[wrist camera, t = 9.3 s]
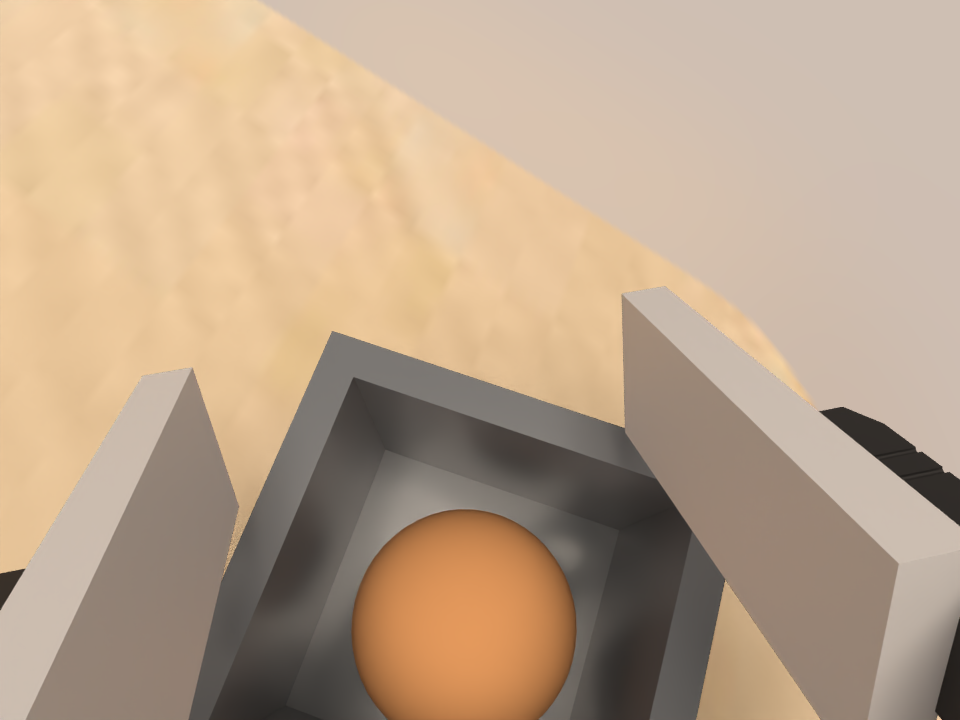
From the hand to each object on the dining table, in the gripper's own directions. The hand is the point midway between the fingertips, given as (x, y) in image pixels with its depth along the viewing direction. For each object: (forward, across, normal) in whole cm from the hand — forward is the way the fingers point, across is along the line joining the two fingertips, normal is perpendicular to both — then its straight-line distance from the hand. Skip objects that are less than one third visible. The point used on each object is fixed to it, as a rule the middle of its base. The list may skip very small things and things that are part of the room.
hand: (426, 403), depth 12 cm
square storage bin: (+5, 0, -10) cm, 11 cm away
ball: (+1, 0, -6) cm, 7 cm away
